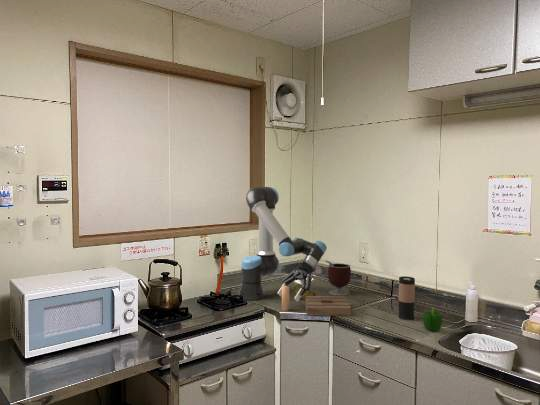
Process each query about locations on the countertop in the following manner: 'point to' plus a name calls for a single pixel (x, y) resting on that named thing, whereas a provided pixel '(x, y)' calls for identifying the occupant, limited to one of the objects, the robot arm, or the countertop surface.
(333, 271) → the mate gourd
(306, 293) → the potato
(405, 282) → the travel mug
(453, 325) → the countertop surface
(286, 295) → the peg
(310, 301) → the hole block
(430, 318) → the bell pepper
